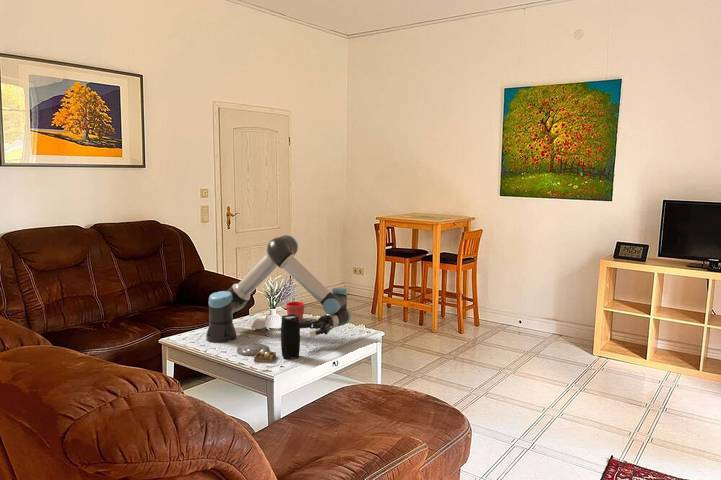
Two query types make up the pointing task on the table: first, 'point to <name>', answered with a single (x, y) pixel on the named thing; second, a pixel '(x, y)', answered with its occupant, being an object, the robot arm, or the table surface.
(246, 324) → the table surface
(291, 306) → the flower pot
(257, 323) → the penguin
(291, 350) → the portable speaker
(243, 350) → the slate trivet
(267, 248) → the robot arm
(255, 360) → the walnut dish
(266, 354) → the brass ball
